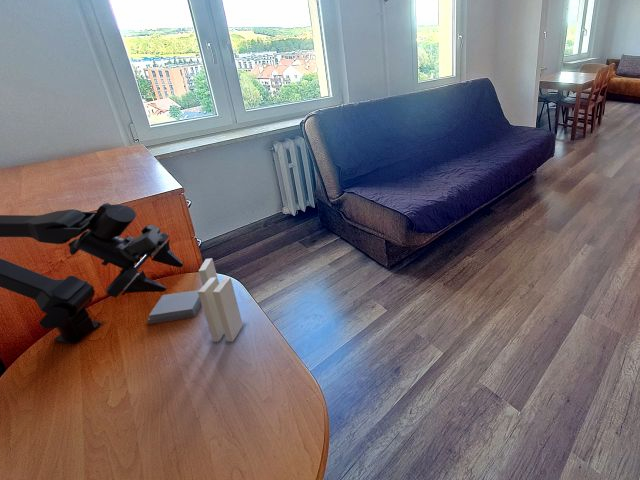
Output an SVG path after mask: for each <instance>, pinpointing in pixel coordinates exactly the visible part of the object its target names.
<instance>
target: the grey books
mask: <svg viewBox="0 0 640 480" xmlns="http://www.w3.org/2000/svg"><path fill="white" fill-rule="evenodd" d="M199 290H200V289H197V290H189V291H182V292H174V293H168V294H162V295H161V296H160V298H159V300H158V301H157V302H156V304H155V306H154V307H153V309H152V310H151V311H150V313H149V314H148V319H147V323H148V325H150V324H159V323H163V322H171V321H176V320H177V321H178V320H182V319H189V318H195V316H196V315H197V313H198V311H199V309H200V307H201V306H202V304H201V301H200V298H199V294H198V291H199Z"/></svg>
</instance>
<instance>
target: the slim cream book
mask: <svg viewBox="0 0 640 480" xmlns="http://www.w3.org/2000/svg"><path fill="white" fill-rule="evenodd" d="M198 273H199V277H200V281H201V285H202V286H203V285H204V284H205V283H206V282H207V281H208V280H209V279H210V278H211V277H212V278H217V280H218V284H220V281H219V278H218V273H217V270H216V266H215V263H214V259H213V258H212V257H209V258H205V259H204V261H203V263H202V264H201V266H200V268H199V269H198Z"/></svg>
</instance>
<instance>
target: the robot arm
mask: <svg viewBox="0 0 640 480" xmlns="http://www.w3.org/2000/svg"><path fill="white" fill-rule="evenodd" d="M136 213H137V212H136V211H135V210H134V209H133V208H132V207H131V206H129V205H124V204H121V203H115V204H114V203H113V204H111V203H109V202H104V203H103V204H102V205H100V206H99V207H98V208H97V210H96V211H81V210H79V209H74V208H73V209H71V208H70V209H63V210H55V211H52V212H48V213H44V214H38V215H37V214H36V215H30V214H29V215H27V214H24V215H21V214H19V215H18V214H17V215H16V214H15V215H14V214H2V215H1V214H0V238H30V239H33V240H35V241H36V242H39V243H44V244H52V245H62V244H66V243H67V244H68V245H67V246H68V248H69V253H70V256H74V255H76V254H77V253H78V252H80V251H82V252H84V253H87V254H88V255H90V256H93V257H95V258H98V259H100V260H102V262H101V265H103V266H105V267H106V266H108V264H111V265H113V266H115V267H118V268H120V271H119V274H118V275H117V276H116V277H115V278H114V279H113V280H112V281H111V283H110V284H108V286H107V287H106V288H105V292H106V294H107V295H108V296H110V297H113V298H115V299H116V298H117V297H119V296H120V294H121V296H125V295H126V294H135V293H160V292H161V293H164V292H165V291H167V289H168V288H167V287H166V286H165V285H163V284H162V283H159V282H158V281H155V280H153V279H152V278H150V277H147V275H146V273H145V271H144V269H142V270H141V271H140V273H139V269H140V268H141V266H143V264H144V263H146V261H147V260H148V259H149V258H151V261H152V262H157V263H160V264H164V265H168V266H171V267H175V268H182V267H183V266H184V263H183V262H182V261H181V259H179V257H178V256H177V255H176V254H175V253H174V252H173V251H172V249H171V248H170V239H169V238H170V235H168V234H166V233H165V232H161V230H162V229H161V228H159V227H157V226H155V225H153V224H148V225H146V226H144V227H143V228H142V229H141V231H140V232H141V233H140V234H139V235H138V236H136V237H133V236H128V235H127V236H126V237H125V238H123V237H120V236H121V235H123V233H124V232H125V231H126V230H127V228H128V227H129V226H130V225H131V224H132V223H133V222H134V220H135V219H136V217H137V214H136ZM72 239H73V240H72ZM71 240H72V241H71ZM68 242H69V243H68ZM88 282H89V281H88V280H84V279H82V278H81V279H80V278H79V277H77V276H75V275H67V277H65V278H64V279H63V278H62V279H55V278H51V277H49V276H47V275H45V274H42V273H39V272H36V271H35V270H34V271H33V270H31V269H28V268H26V267H23V266H21V265H18V264H16V263H14V262H11V261H10V260H9V261H8V260H6V259H4V258H1V257H0V288H3V289H5V290H7V291H9V292H12V293H16V294H18V295H21V296H24V297H27V298H29V299H32V300H34V301H35V303H36V305H37V306H38V308H39V310H40V311H41V312H43V313H45V315H44V316H43V317H42V318H41V320H40V321H39V322H38V325H40V326H41V327H42V328H43V329H45V330H47V329H55V328H56V329H57V330H58V332H59V335H57V336H55V337H54V338H53V341H55V342H58V343H62V344H63V343H65V344H70V345H76V344H78V343H79V342H81V340H83V339H84V338H85V337H87V336H88V335H89V334H91V333H92V332H93V331H95V330H96V329H97V328H98V327H100V326H102V322H101V321H95V320H92V318H91V316H90V314H89V312H88V310H87V308H86V307H87V306H88V305H89V304H90V303H92V302H93V298H94V297H95V295H96V291H95V288H94V286H93V285H92V284H90V283H88Z"/></svg>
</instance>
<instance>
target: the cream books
mask: <svg viewBox="0 0 640 480" xmlns="http://www.w3.org/2000/svg"><path fill="white" fill-rule="evenodd" d="M218 281H219V279H218V280H217V278H212V277H211V278H210V279H209V280H208V281H207V282H206V283H205V284H204V285H202V287H200V289H198V290H199V291H198V294H199V298H200V301H201V308H202V311H203V313H204V317H205V320H206V323H207V326H208V327H207V328H208V330H209V334H210V337H211V340H212V342H220V341H221V339H222V338H223V336H224V338H225V340H226V342H234V340H235V339H236V337H238V334H239V332H240V331H241V329H242V328H243V327H244V326H243V325H244V324H243V320H242V316H241V312H240V308H239V304H238V301H237V297H236V293H235V289H234V285H233V282H232V278H231V277H223V279H222V280H221V281H219V284H218Z"/></svg>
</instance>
